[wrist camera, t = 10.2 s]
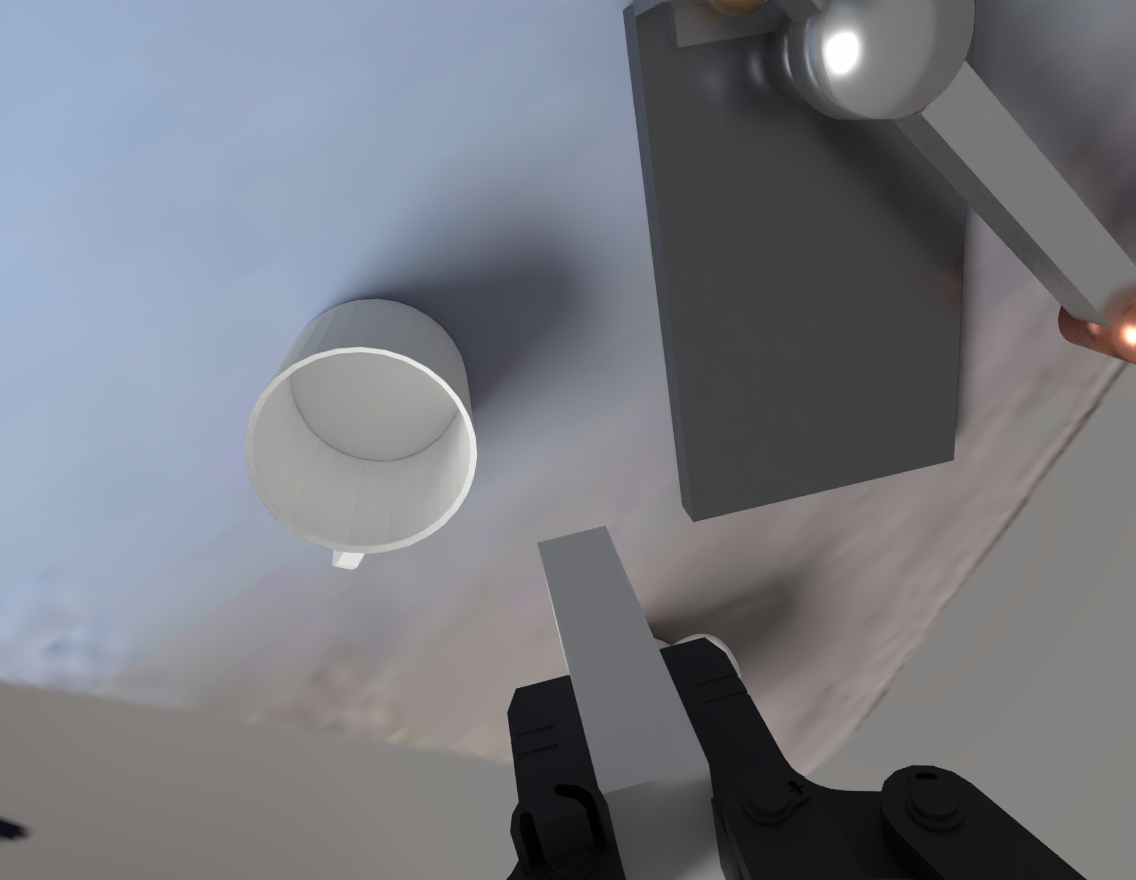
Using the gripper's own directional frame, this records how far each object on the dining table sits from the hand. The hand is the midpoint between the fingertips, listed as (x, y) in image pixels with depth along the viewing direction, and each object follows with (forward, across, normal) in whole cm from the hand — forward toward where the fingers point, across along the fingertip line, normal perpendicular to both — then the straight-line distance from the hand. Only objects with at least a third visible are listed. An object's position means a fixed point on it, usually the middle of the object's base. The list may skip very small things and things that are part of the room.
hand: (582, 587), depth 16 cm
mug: (+25, -8, -3) cm, 26 cm away
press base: (+24, +17, +2) cm, 30 cm away
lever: (+19, +21, +4) cm, 29 cm away
